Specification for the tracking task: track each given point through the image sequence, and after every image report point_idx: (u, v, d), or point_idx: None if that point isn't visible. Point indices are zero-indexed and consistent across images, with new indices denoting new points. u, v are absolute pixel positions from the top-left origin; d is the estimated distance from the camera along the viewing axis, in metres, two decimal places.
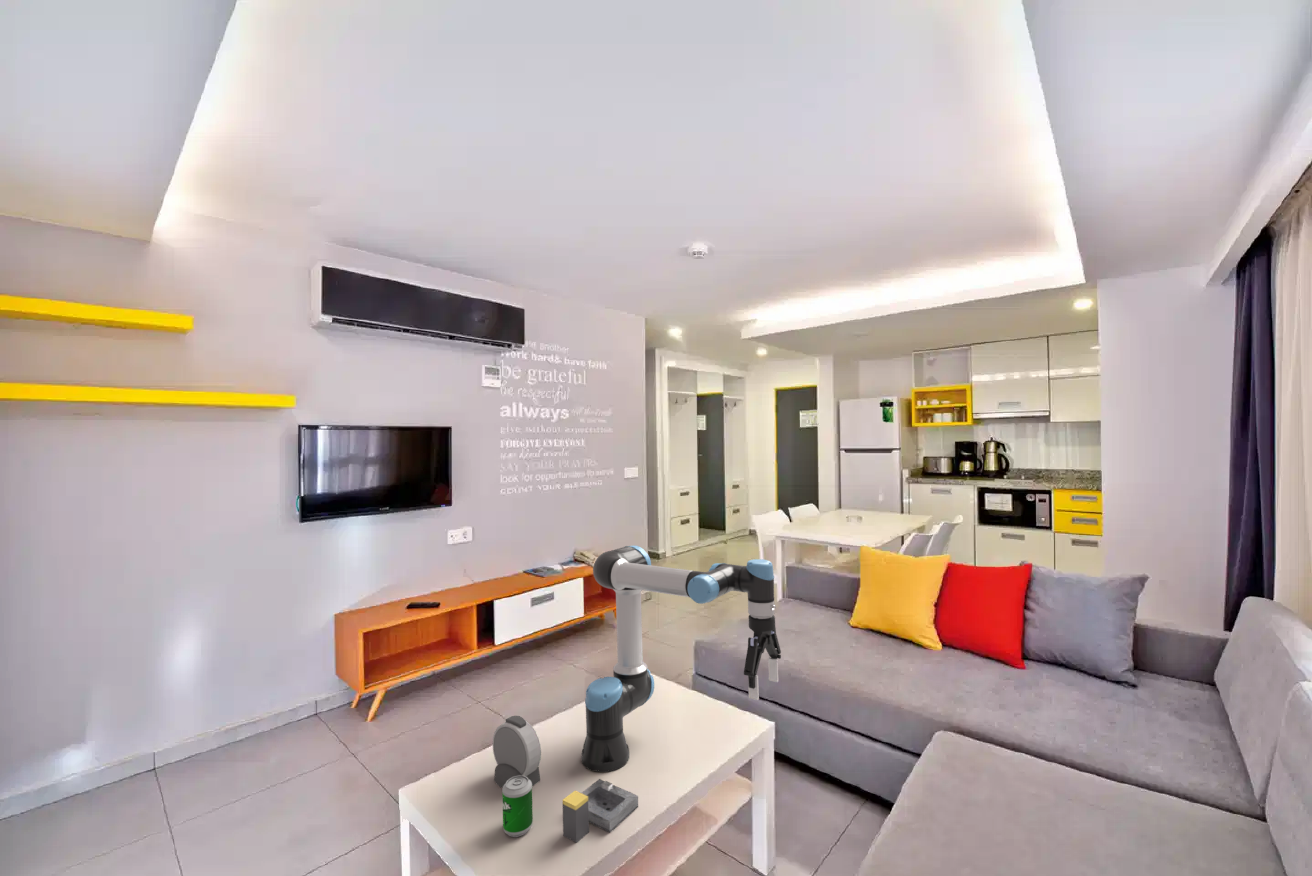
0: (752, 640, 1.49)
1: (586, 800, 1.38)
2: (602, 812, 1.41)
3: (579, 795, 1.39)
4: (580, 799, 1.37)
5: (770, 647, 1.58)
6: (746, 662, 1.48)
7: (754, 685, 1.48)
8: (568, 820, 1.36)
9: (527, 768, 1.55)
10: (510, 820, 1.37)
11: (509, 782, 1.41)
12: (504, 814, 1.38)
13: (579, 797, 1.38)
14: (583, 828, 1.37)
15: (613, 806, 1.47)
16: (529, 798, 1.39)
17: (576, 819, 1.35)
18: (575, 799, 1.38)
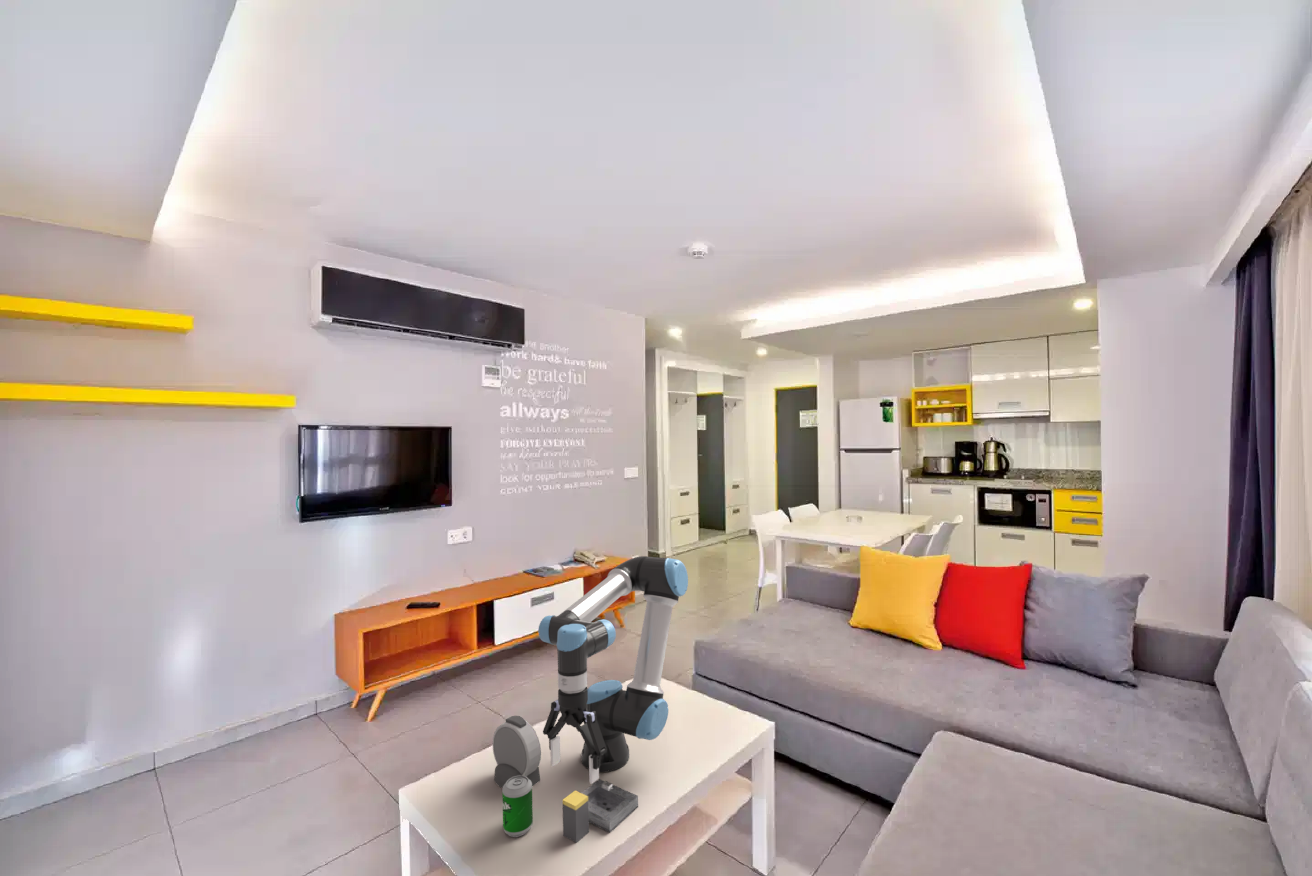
0: None
1: (586, 800, 1.38)
2: (602, 812, 1.41)
3: (579, 795, 1.39)
4: (580, 799, 1.37)
5: None
6: None
7: (550, 747, 1.42)
8: (568, 820, 1.36)
9: (527, 768, 1.55)
10: (510, 820, 1.37)
11: (509, 782, 1.41)
12: (504, 814, 1.38)
13: (579, 797, 1.38)
14: (584, 828, 1.37)
15: (613, 806, 1.47)
16: (529, 798, 1.39)
17: (577, 819, 1.35)
18: (575, 799, 1.38)
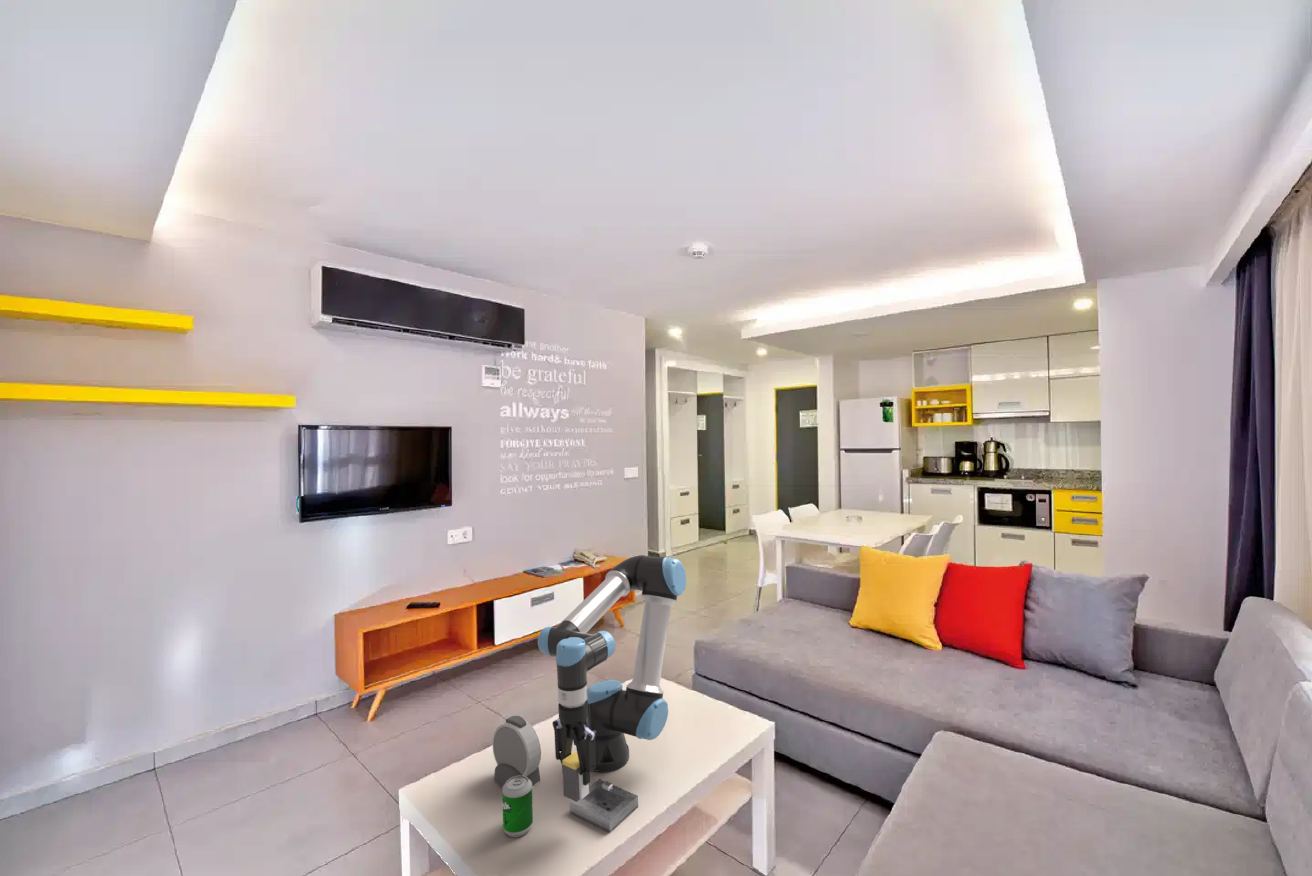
0: None
1: None
2: (602, 812, 1.41)
3: None
4: None
5: None
6: None
7: None
8: (568, 780, 1.37)
9: (527, 768, 1.55)
10: (510, 820, 1.37)
11: (509, 782, 1.41)
12: (504, 814, 1.38)
13: None
14: None
15: (613, 806, 1.47)
16: (529, 798, 1.39)
17: (576, 779, 1.36)
18: (575, 759, 1.38)
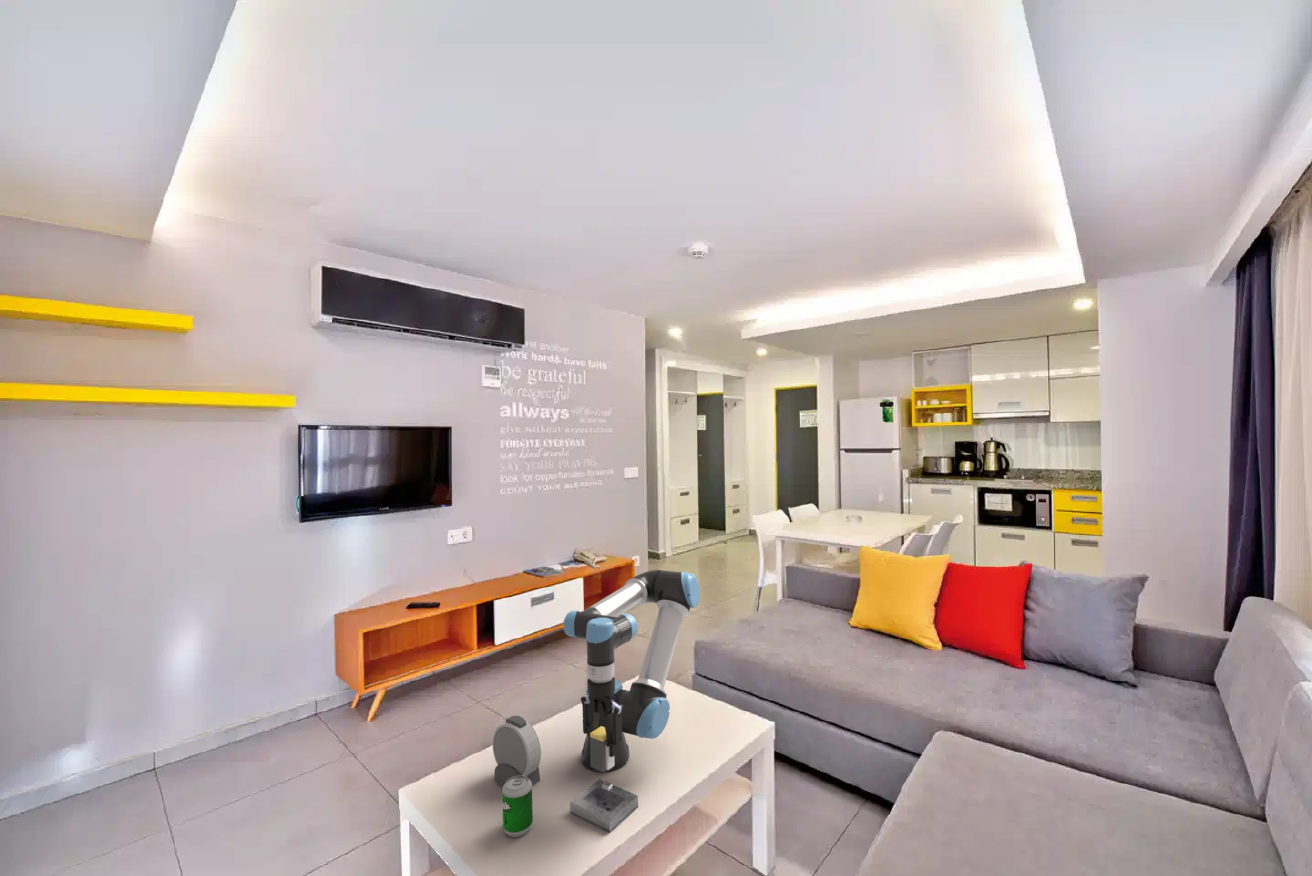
0: None
1: None
2: (602, 812, 1.41)
3: None
4: None
5: None
6: None
7: None
8: (595, 752, 1.45)
9: (527, 768, 1.55)
10: (510, 820, 1.37)
11: (509, 782, 1.41)
12: (504, 814, 1.38)
13: (605, 731, 1.47)
14: None
15: (613, 806, 1.47)
16: (529, 798, 1.39)
17: (603, 750, 1.44)
18: (602, 732, 1.47)
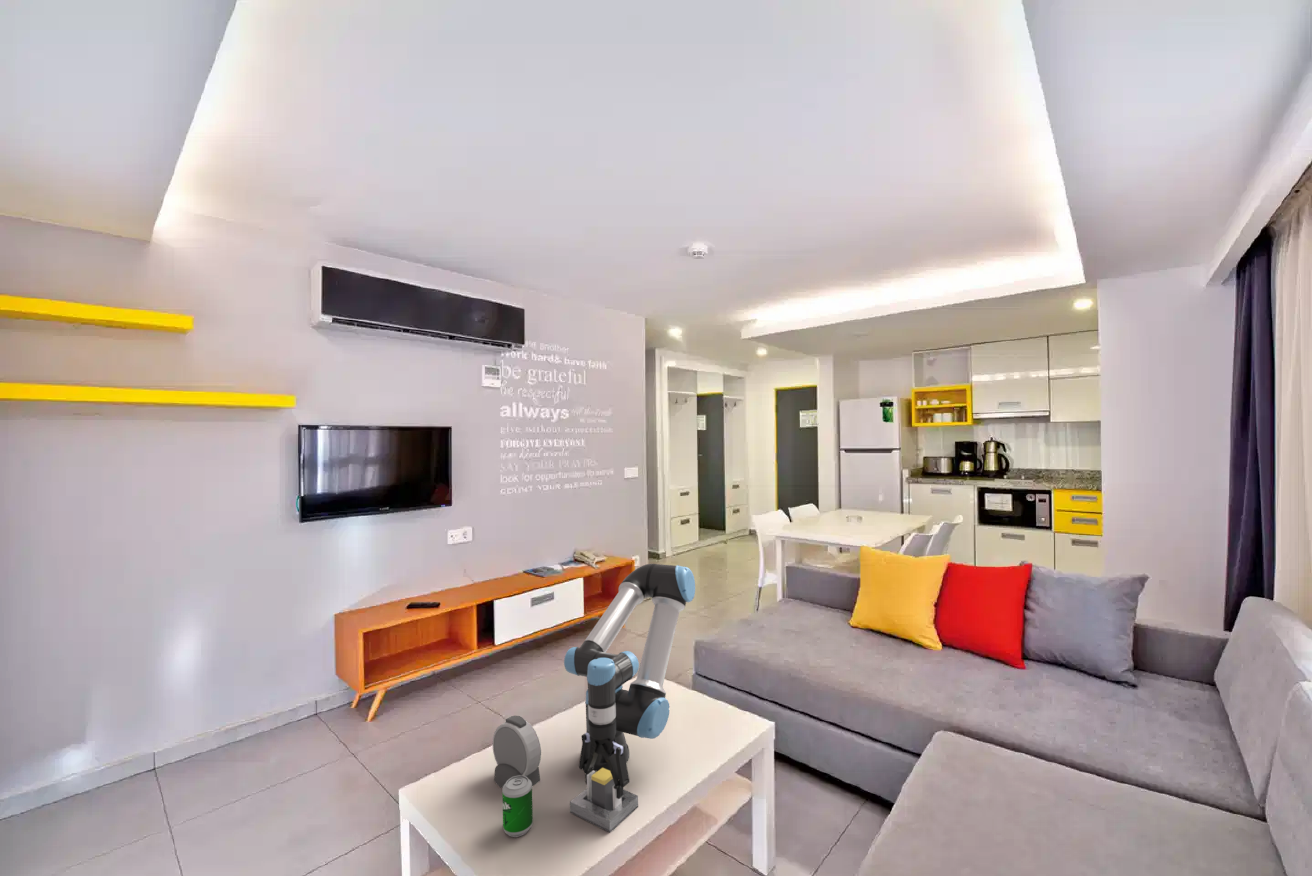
0: None
1: None
2: (602, 812, 1.41)
3: (606, 772, 1.48)
4: (608, 775, 1.46)
5: None
6: None
7: (587, 782, 1.49)
8: (597, 795, 1.45)
9: (527, 768, 1.55)
10: (510, 820, 1.37)
11: (509, 782, 1.41)
12: (504, 814, 1.38)
13: (607, 773, 1.47)
14: (611, 802, 1.46)
15: None
16: (529, 798, 1.39)
17: (605, 793, 1.44)
18: (603, 775, 1.46)
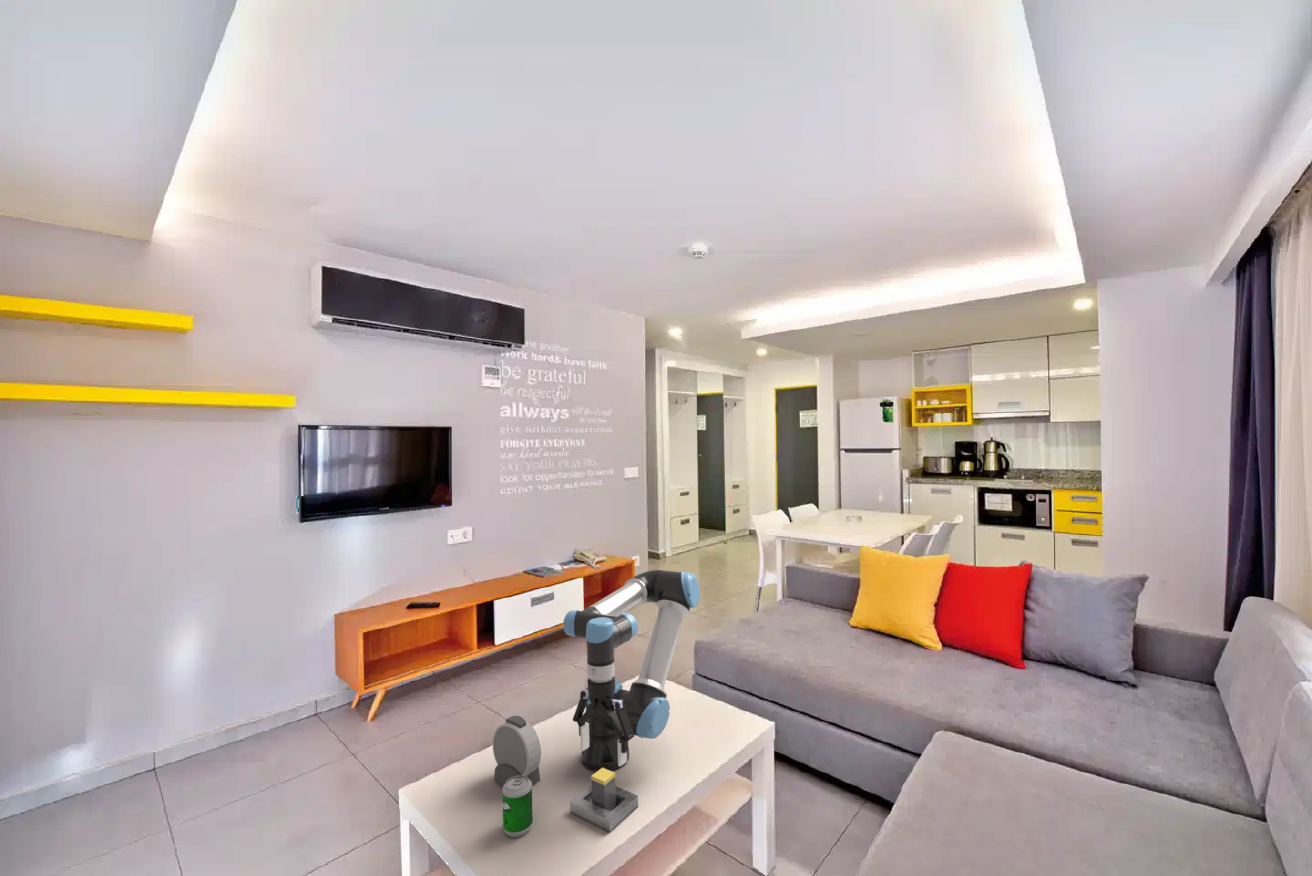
0: None
1: (613, 776, 1.47)
2: (602, 812, 1.41)
3: (606, 772, 1.48)
4: (608, 775, 1.46)
5: None
6: None
7: None
8: (597, 795, 1.45)
9: (527, 768, 1.55)
10: (510, 820, 1.37)
11: (509, 782, 1.41)
12: (504, 814, 1.38)
13: (607, 773, 1.47)
14: (611, 802, 1.46)
15: None
16: (529, 798, 1.39)
17: (605, 793, 1.44)
18: (603, 775, 1.46)
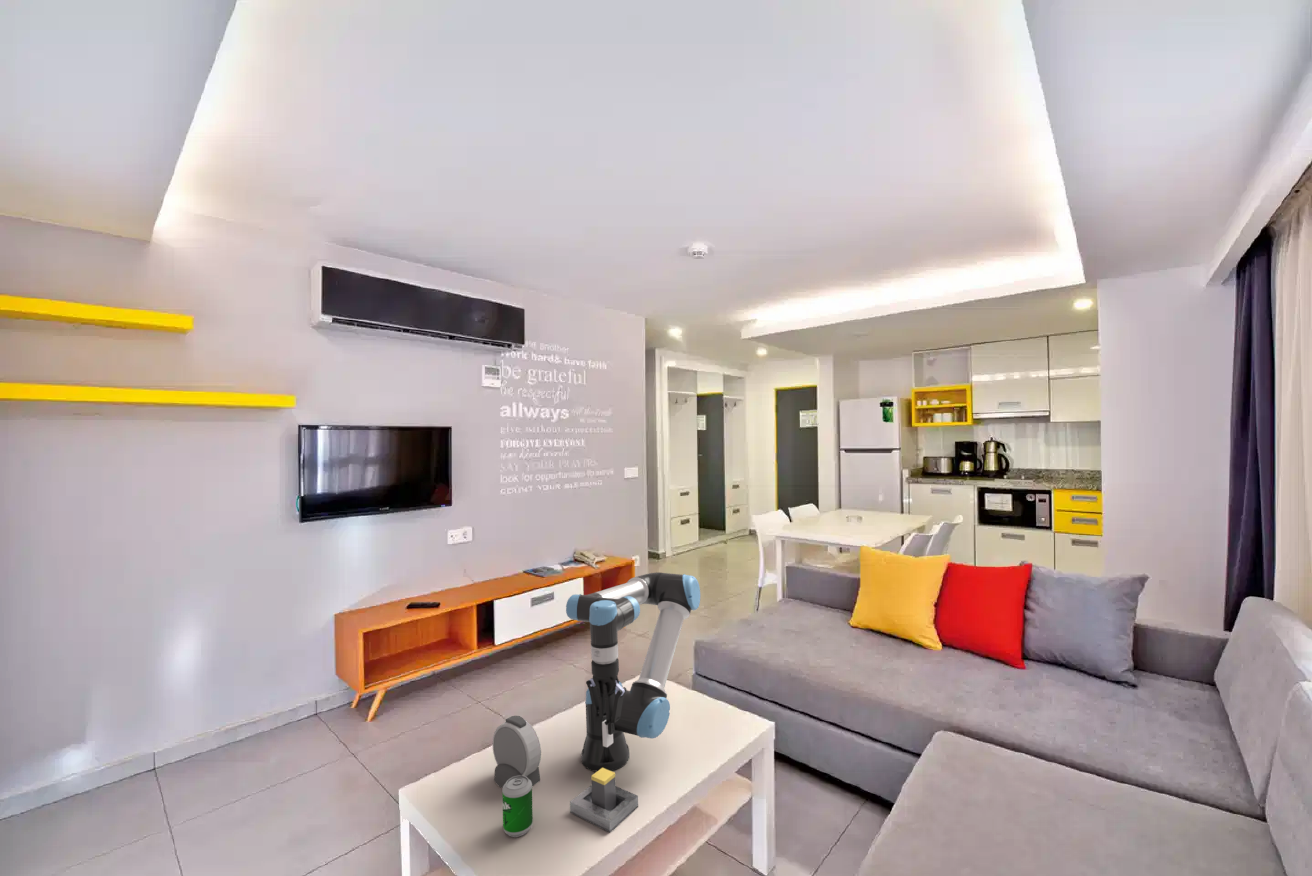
0: None
1: (613, 776, 1.47)
2: (602, 812, 1.41)
3: (606, 772, 1.48)
4: (608, 775, 1.46)
5: None
6: None
7: None
8: (597, 795, 1.45)
9: (527, 768, 1.55)
10: (510, 820, 1.37)
11: (509, 782, 1.41)
12: (504, 814, 1.38)
13: (607, 773, 1.47)
14: (611, 802, 1.46)
15: None
16: (529, 798, 1.39)
17: (605, 793, 1.44)
18: (603, 775, 1.46)
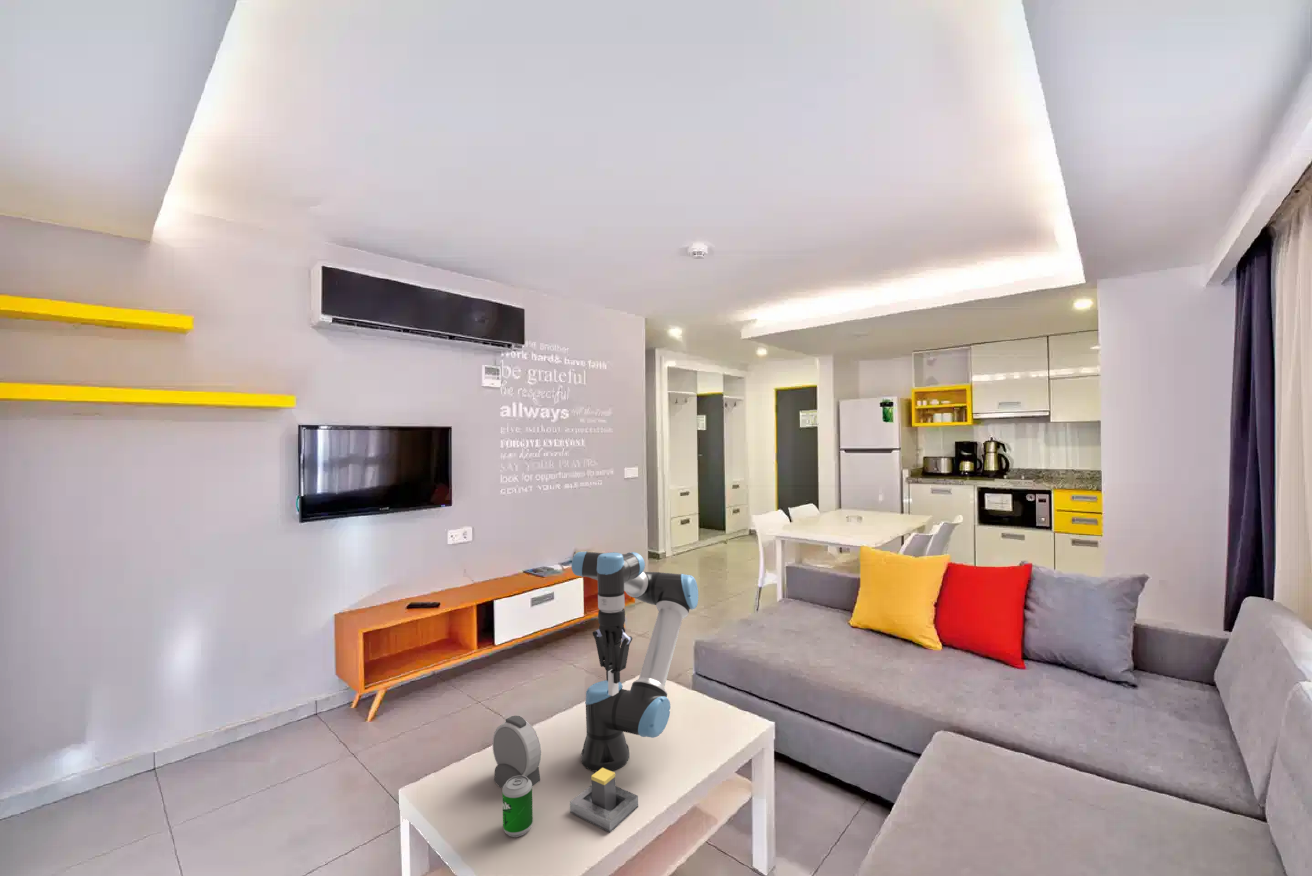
0: None
1: (613, 776, 1.47)
2: (602, 812, 1.41)
3: (606, 772, 1.48)
4: (608, 775, 1.46)
5: None
6: None
7: (608, 678, 1.52)
8: (597, 795, 1.45)
9: (527, 768, 1.55)
10: (510, 820, 1.37)
11: (509, 782, 1.41)
12: (504, 814, 1.38)
13: (607, 773, 1.47)
14: (611, 802, 1.46)
15: None
16: (529, 798, 1.39)
17: (605, 793, 1.44)
18: (603, 775, 1.46)
